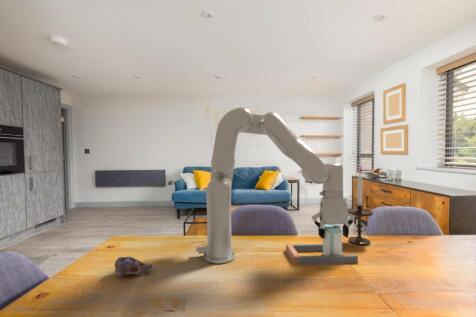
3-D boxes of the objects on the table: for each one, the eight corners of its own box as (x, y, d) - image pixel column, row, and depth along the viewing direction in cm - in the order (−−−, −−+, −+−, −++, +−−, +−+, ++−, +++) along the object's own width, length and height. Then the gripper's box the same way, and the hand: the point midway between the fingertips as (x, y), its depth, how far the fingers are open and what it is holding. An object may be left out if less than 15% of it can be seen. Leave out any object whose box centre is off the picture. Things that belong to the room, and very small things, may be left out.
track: (294, 264, 92) (294, 256, 92) (286, 250, 105) (286, 243, 105) (357, 262, 93) (358, 254, 93) (341, 249, 106) (341, 242, 106)
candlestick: (367, 238, 119) (368, 165, 118) (376, 247, 108) (377, 167, 107) (343, 237, 120) (344, 165, 119) (349, 245, 110) (350, 166, 109)
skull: (154, 268, 90) (154, 251, 89) (148, 279, 82) (148, 261, 82) (120, 269, 89) (119, 252, 88) (110, 281, 81) (110, 262, 81)
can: (324, 251, 104) (324, 222, 104) (342, 254, 101) (342, 225, 100) (321, 257, 98) (321, 227, 97) (341, 261, 94) (341, 230, 94)
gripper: (315, 196, 94) (315, 241, 95) (359, 195, 95) (359, 239, 96) (308, 193, 102) (309, 234, 102) (349, 192, 103) (349, 232, 103)
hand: (333, 236), depth 99 cm, fingers open, 9 cm apart
